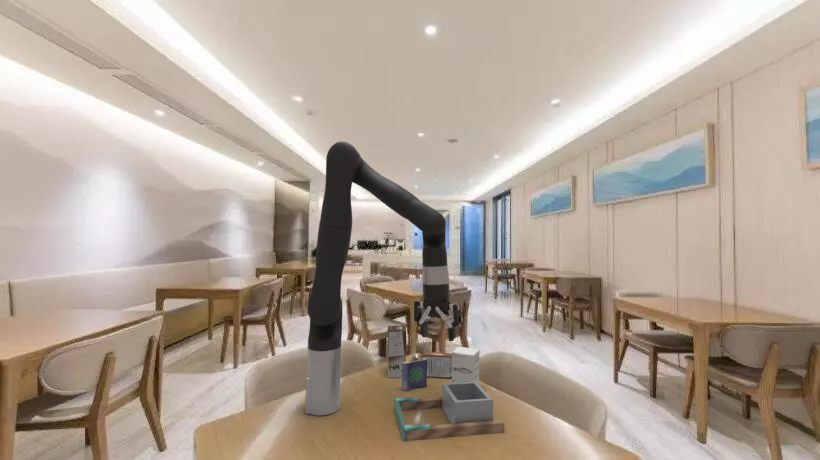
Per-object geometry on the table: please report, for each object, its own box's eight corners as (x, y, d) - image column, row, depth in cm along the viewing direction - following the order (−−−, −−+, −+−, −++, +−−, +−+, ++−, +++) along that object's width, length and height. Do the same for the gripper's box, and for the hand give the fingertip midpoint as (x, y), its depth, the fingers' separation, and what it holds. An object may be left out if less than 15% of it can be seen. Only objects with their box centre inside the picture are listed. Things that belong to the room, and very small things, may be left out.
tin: (459, 376, 125) (459, 352, 125) (459, 380, 122) (459, 355, 122) (416, 374, 126) (417, 350, 127) (416, 377, 123) (416, 353, 124)
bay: (403, 442, 83) (403, 428, 83) (394, 409, 100) (394, 398, 100) (504, 433, 88) (504, 420, 88) (479, 403, 104) (479, 392, 104)
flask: (404, 392, 111) (404, 358, 111) (399, 389, 114) (399, 355, 114) (428, 386, 116) (428, 353, 116) (423, 383, 118) (423, 351, 119)
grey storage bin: (455, 431, 88) (455, 402, 88) (442, 408, 100) (442, 383, 100) (492, 427, 90) (493, 399, 90) (476, 406, 101) (476, 381, 102)
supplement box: (450, 392, 112) (451, 351, 112) (457, 383, 118) (458, 345, 119) (473, 396, 108) (474, 355, 109) (479, 387, 115) (479, 348, 116)
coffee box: (406, 377, 123) (406, 331, 124) (387, 378, 123) (388, 331, 123) (403, 368, 133) (404, 325, 133) (386, 368, 132) (387, 325, 132)
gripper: (407, 282, 101) (409, 339, 101) (452, 284, 94) (454, 345, 93) (421, 279, 108) (423, 332, 108) (464, 280, 100) (466, 338, 100)
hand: (438, 338), depth 101 cm, fingers open, 8 cm apart
